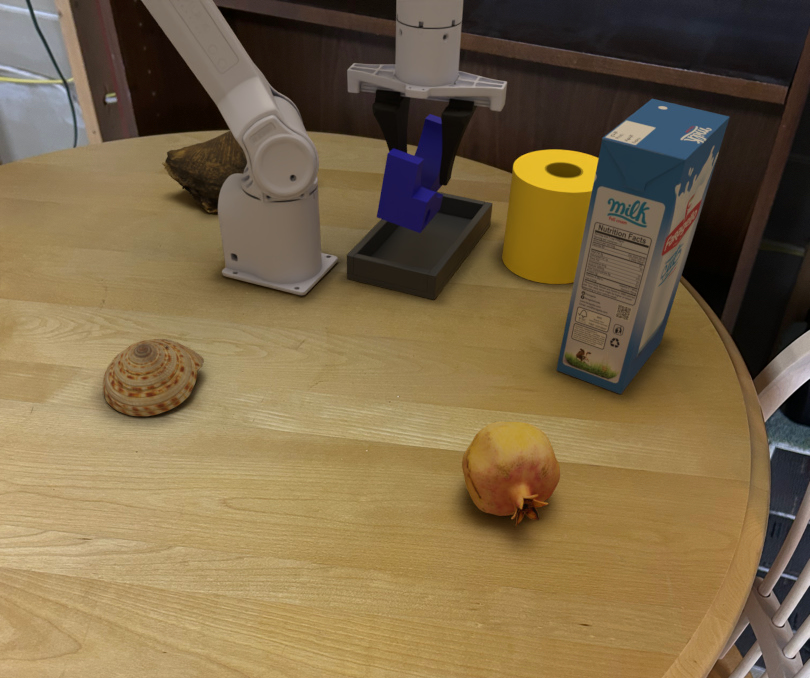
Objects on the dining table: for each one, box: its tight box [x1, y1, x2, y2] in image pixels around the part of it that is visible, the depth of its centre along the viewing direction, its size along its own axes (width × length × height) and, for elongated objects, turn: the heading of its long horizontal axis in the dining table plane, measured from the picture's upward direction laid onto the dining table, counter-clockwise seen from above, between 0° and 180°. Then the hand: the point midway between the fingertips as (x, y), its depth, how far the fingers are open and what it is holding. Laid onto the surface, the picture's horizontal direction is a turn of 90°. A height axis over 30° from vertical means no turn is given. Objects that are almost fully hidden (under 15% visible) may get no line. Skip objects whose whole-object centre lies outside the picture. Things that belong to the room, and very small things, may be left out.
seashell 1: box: [102, 338, 205, 417], centre depth 68 cm, size 8×6×8 cm
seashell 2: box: [161, 129, 247, 214], centre depth 92 cm, size 16×9×7 cm, turn 111°
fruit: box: [461, 421, 561, 527], centre depth 58 cm, size 7×7×10 cm
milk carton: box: [555, 98, 731, 395], centre depth 67 cm, size 10×6×20 cm, turn 147°
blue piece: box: [376, 113, 443, 233], centre depth 78 cm, size 12×4×6 cm, turn 160°
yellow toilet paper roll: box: [501, 149, 599, 285], centre depth 82 cm, size 10×10×9 cm
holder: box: [346, 191, 493, 301], centre depth 86 cm, size 10×18×3 cm, turn 157°
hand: (422, 178), depth 79 cm, fingers closed on blue piece, 4 cm apart
